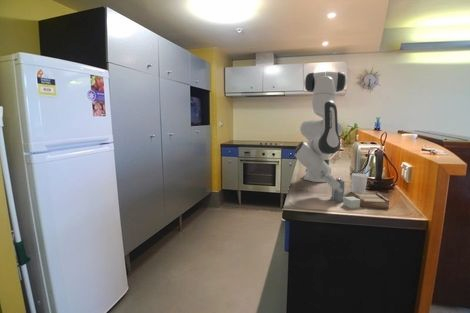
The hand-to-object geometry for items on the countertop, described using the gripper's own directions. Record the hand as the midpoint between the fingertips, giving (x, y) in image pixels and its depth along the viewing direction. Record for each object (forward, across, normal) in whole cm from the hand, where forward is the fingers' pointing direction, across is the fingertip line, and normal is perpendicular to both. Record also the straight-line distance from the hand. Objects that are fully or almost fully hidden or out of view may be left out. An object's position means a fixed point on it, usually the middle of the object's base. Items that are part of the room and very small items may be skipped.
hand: (339, 189), depth 132 cm
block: (+6, -9, +2) cm, 11 cm away
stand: (+13, -4, -6) cm, 15 cm away
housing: (+3, 0, +4) cm, 5 cm away
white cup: (+14, +15, -6) cm, 22 cm away
